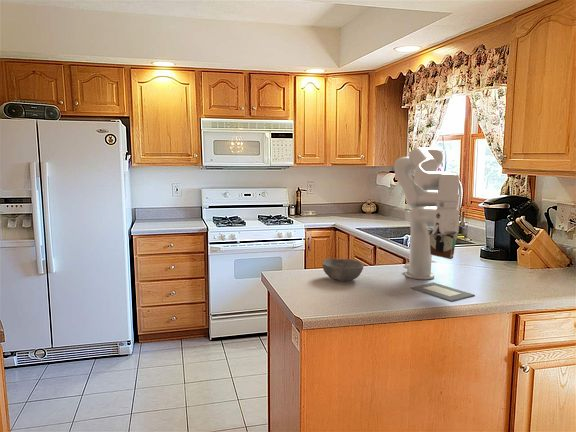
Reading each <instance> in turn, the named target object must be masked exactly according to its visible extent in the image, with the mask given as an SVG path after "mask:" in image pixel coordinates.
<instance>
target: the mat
mask: <svg viewBox="0 0 576 432" xmlns="http://www.w3.org/2000/svg"><path fill="white" fill-rule="evenodd" d="M410 289H412V290H415V291H417V292H420V293H424V294H427V295H429V296H432V297H436V298H439V299H442V300H443V301H444V300H445V301H449V302H451V303H452V302H456V301H460V300H464V299H468V298H471V297H475V294H474V293H470V292H467V291H465V290H464V291H463V290H460V289H456V288H453V287H449V286H447V285H443V284H440V283H436V282H429V283H424V284H419V285H415V286H410Z"/></svg>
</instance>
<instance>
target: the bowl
mask: <svg viewBox="0 0 576 432" xmlns="http://www.w3.org/2000/svg"><path fill="white" fill-rule="evenodd" d="M364 266H365V265H364V263H363V262H361V261H359V260H355V259H351V258H325V259H324V260H323V261H322V269H323V272H324V273H325V274H326V275H327V276H328V277H329V278H330V279H333V280H336V281H337V280H338V281H343V282H351V281H354V280H355V279H357V278H359V277H360V275H361V273H362V272H363V270H364Z"/></svg>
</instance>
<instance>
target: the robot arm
mask: <svg viewBox="0 0 576 432" xmlns="http://www.w3.org/2000/svg"><path fill="white" fill-rule="evenodd" d="M443 160H444V155H443V153H442V151H441V149H440V148H438V147H427V146H426V147H421V146H420V147H415V148H413V149H411V151H410V152H409V155H408V156H403V157H399V158H397V159H396V160H395V162H394V165H393V166H394V168H393V169H394V176H395V177H396V180H397V182H398V183H399V185H400V186H401V188H402V191H403V193H404V197H405V200H406V203H407V204H408V207H409V208H410V209H411V210H409V215H408V217H409V225H410V226H409V227H410V239H409V241H410V243H409V245H410V246H409V260H408V261H409V262H408V263H405V264H404V265H403V268H404V269H405V270H406V271H405V272H404V274H405V275H404V276H406V277H407V278H410V279H414V280H421V281H422V280H423V281H425V280H427V281H428V280H432V279H435V274H434V273H433V272H432V261H433V260H432V257H433V255H430V235H428V233H429V230H428V229H434V230H433V232H432V235H433V237H434V238H435V241H436V251H437V252H443V246H444V242H443V238H444V235H449V234H455V232H457V234H458V233H459V231H460V230H459V229H460V215H459V209H458V202H459V201H458V199H459V187H460V186H459V184H460V176H459V175H458V173H452V172H449V171H437V169H438V168H439V167H440V166H441V164H442V163H443ZM439 233H441V234H439ZM439 235H440V236H441V237H439Z"/></svg>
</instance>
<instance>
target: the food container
mask: <svg viewBox="0 0 576 432" xmlns="http://www.w3.org/2000/svg"><path fill="white" fill-rule="evenodd" d="M433 230H434V228H431V229H429V230H428V231H429V233H428V235H430V255H432V256H435V257H439V258H444V259H447V260H453V259H454V254H455V250H456V249H455V247H456V241H457V239H459V237H458V236H459V235H458V233H457V232H455V234H449V235H444V238H443V242H444V246H443V252H437V251H436V241H435V238H434V237H433V235H432V232H433ZM439 234H441V233H439ZM439 237H441V236H440V235H439Z"/></svg>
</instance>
